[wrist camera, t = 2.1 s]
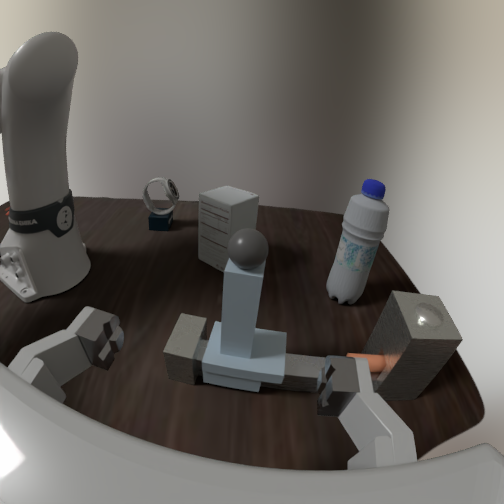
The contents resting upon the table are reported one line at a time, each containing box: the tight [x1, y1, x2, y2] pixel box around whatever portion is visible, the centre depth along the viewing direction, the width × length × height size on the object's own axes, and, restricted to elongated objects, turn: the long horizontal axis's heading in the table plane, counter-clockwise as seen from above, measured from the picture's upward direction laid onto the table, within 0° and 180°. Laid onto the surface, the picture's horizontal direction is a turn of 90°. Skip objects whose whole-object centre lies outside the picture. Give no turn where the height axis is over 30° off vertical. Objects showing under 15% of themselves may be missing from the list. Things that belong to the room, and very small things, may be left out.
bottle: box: [327, 179, 389, 304], centre depth 40 cm, size 7×7×20 cm
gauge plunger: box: [346, 353, 386, 372], centre depth 27 cm, size 7×2×2 cm, turn 83°
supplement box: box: [198, 186, 259, 272], centre depth 48 cm, size 7×7×13 cm
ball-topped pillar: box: [202, 228, 286, 392], centre depth 25 cm, size 8×6×17 cm
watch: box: [143, 177, 179, 231], centre depth 58 cm, size 6×8×11 cm
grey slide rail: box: [163, 291, 462, 401], centre depth 27 cm, size 30×8×11 cm, turn 83°
